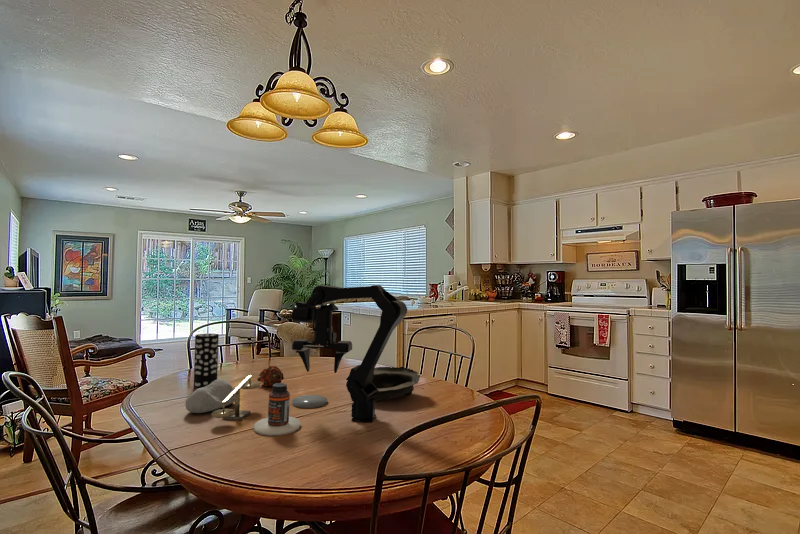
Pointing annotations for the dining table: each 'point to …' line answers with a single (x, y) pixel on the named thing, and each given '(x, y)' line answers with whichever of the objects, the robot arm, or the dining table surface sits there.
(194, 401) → the decorative stone
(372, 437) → the dining table surface
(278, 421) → the supplement bottle
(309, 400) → the slate dish
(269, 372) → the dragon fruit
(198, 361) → the white-spotted black cylinder
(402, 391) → the stone bowl
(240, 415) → the balance
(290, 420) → the cream dish
